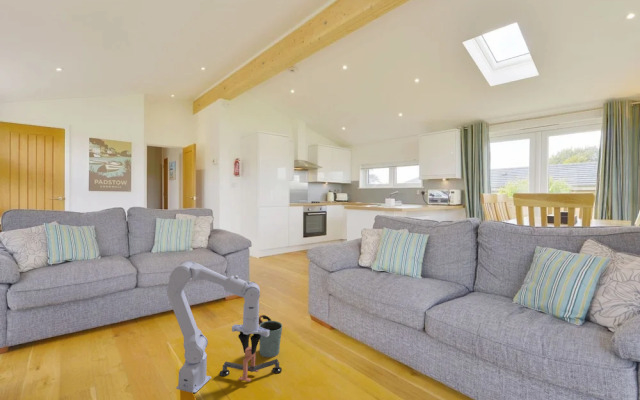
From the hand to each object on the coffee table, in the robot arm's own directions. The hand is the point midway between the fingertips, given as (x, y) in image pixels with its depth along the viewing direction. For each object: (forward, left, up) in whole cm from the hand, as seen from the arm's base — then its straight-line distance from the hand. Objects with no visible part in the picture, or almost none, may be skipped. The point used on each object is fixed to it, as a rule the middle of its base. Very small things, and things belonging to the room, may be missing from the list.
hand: (249, 352), depth 115 cm
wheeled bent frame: (+4, +1, -10) cm, 11 cm away
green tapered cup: (+20, 0, -10) cm, 22 cm away
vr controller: (+38, +14, -10) cm, 42 cm away
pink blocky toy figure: (0, 0, -8) cm, 9 cm away
